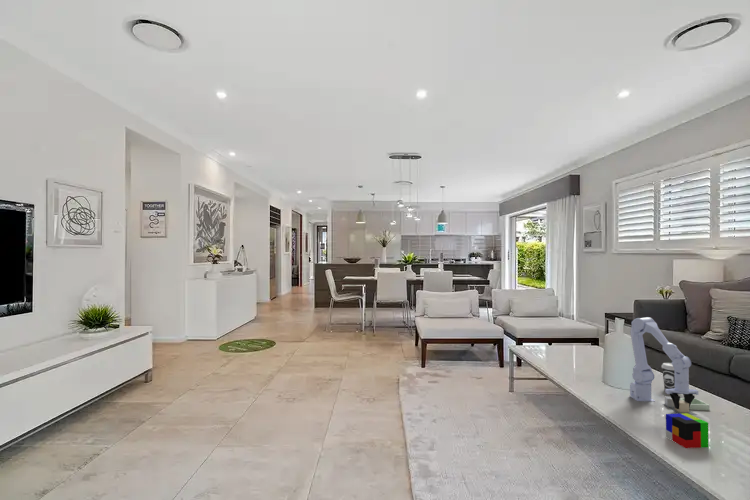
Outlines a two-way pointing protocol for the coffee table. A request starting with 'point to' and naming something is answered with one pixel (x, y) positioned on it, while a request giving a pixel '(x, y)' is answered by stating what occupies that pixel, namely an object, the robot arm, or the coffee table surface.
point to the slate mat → (678, 411)
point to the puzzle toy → (687, 430)
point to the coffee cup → (668, 375)
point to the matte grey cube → (669, 402)
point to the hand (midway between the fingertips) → (681, 408)
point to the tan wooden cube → (683, 406)
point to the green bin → (697, 405)
